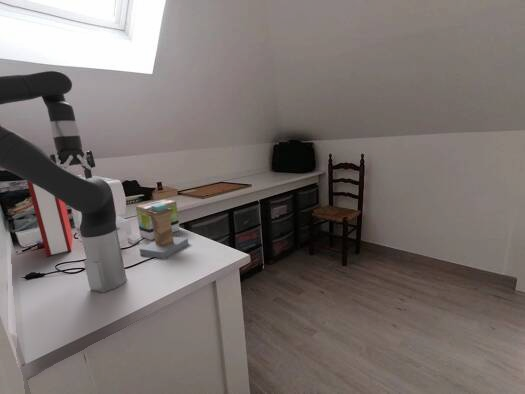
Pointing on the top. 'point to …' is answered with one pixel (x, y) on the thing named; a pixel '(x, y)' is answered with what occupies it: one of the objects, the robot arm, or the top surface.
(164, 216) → the wooden pedestal column
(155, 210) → the teal block
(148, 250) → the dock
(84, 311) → the top surface
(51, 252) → the book
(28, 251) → the top surface
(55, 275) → the top surface
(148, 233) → the tea box
